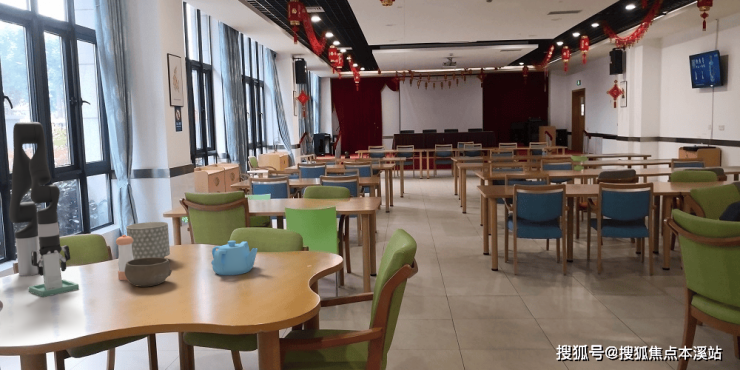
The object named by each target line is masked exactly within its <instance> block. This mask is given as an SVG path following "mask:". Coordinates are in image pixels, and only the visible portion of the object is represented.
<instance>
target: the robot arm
mask: <svg viewBox="0 0 740 370" xmlns="http://www.w3.org/2000/svg"><path fill="white" fill-rule="evenodd" d="M44 130H45V129H44V126H43V124H42V123H40V122H37V121H22V122H21V121H19V122H18V121H17V122H16V123H14V125H13V131H12V136H13V137H12V139H13V142H12V143H13V144H12V145H13V157H12V158H13V159H12V169H11V170H12V171H11V195H10V202H9V209H8V216H9V220H10V222H11V223H12V224H23V223H27V224H26V225H25V226H24V227H23V228H21V229H18V230H17V231H15V233H14V236H15V245H16V257H17V268H18V269H17V270H18V275H19V276H21V277H24V276H25V277H27V276H29V277H30V276H34V275H39V276H40V277H42V276H43V267H42V265H43V262H44V261H43V259H42V256H43V255H45V254H46V255H47V254H51V253H59V261H60V269H61V272H65V271H66V270H67V261H70V260H71V254H70V247H69V245H62V246H61V239H60V238H61V237H60V227H59V223H58V206H59V201H60V196H61V190H60V188H59V187H58V186H57V185H56V184H49V183H50V181H52V180H51V179H52V176H51V172H50V168H49V164H48V156H47V147H46V145H47V144H46V138H45V137H46V136H45V131H44ZM33 144H34V145H35V144H36V150H35V152H34V153H33V154H32V157H31V158H30V157H29V155H28V153H26V151H25V149H24V147H23V145H33ZM46 184H47V185H46ZM29 191H30V196H29V197H30V199H31V201H23V202H22V200H23V199H24V196H26V194H27V193H28V192H29ZM43 203H44V204H46V203H47V204H48V203H49V205H48V206H46V207H44V208H41V209H39V210H38V208H37V204H43ZM61 252H63V253H64V256H63V255H62V254H61Z"/></svg>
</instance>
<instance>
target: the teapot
mask: <svg viewBox="0 0 740 370" xmlns="http://www.w3.org/2000/svg"><path fill="white" fill-rule="evenodd" d="M236 242H237V241H236V240H228V241H227V244H224V245H217V246H214V247H213V248H211V249H212V250H211V254H212V255H211V256H212V258H213V259H212V260H211V262H210V264H211V266H212V270H213V271H214V273H215V274H217V275H219V276H237V275H243V274H246V273H249V272H250V271H251V270H252V268H253V267H254V266H255V261H256V258H257V257H256V256H257V253H258V248H255V247H253V248H251V250H250V247H249V244H248V241H241V242H240V243H236Z"/></svg>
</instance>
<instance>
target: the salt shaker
mask: <svg viewBox="0 0 740 370" xmlns="http://www.w3.org/2000/svg"><path fill="white" fill-rule="evenodd" d="M115 243H116V245H117V247H118V249H117V250H118V260H117V267H118V270H117V274H118V275H117V279H118V280H120V281H128V279H127V278H126V276H125V266H126V263H127V262H128V261H130V260H134V258H133V254H132V244H131V243H133V238H132V237H130V236H127V234H123V235H121V236H119V237H117V238H116V240H115Z"/></svg>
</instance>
